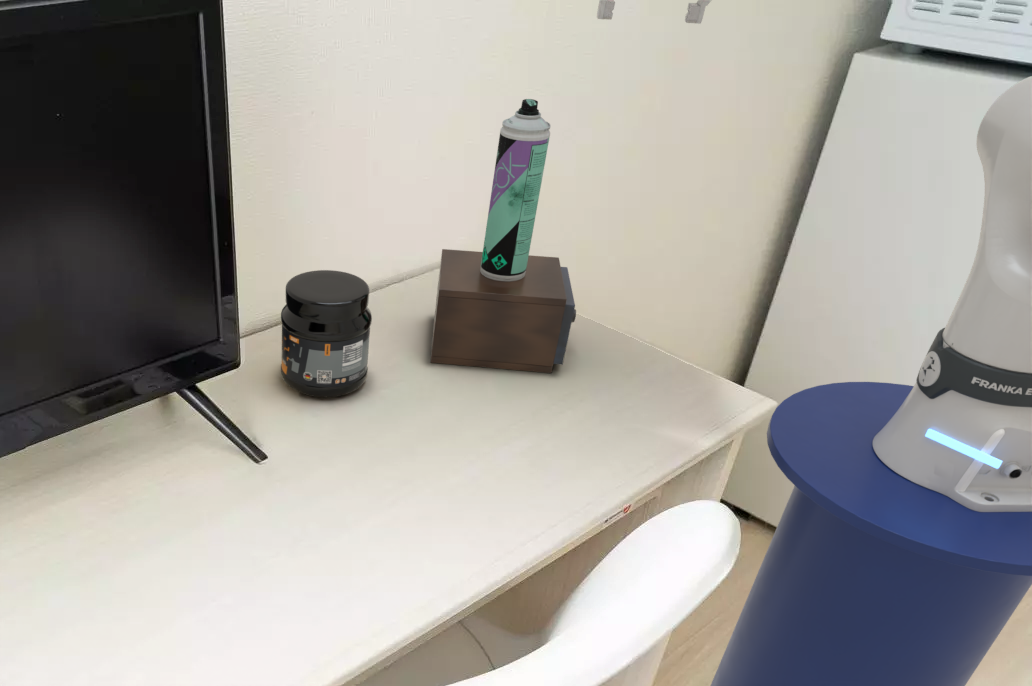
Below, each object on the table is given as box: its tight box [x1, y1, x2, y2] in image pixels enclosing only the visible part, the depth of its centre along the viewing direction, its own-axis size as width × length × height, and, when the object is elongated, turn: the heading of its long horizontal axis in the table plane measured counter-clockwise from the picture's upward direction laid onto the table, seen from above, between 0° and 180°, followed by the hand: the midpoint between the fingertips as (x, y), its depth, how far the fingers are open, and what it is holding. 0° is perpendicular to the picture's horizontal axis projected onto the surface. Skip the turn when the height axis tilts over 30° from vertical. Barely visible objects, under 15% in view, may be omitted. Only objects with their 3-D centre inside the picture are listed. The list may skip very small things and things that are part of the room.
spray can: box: [480, 98, 551, 281], centre depth 108 cm, size 6×6×20 cm
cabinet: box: [430, 248, 567, 374], centre depth 117 cm, size 15×13×10 cm
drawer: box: [553, 266, 577, 366], centre depth 117 cm, size 15×12×8 cm
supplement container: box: [280, 269, 373, 398], centre depth 109 cm, size 10×10×12 cm
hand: (647, 20), depth 102 cm, fingers open, 8 cm apart
